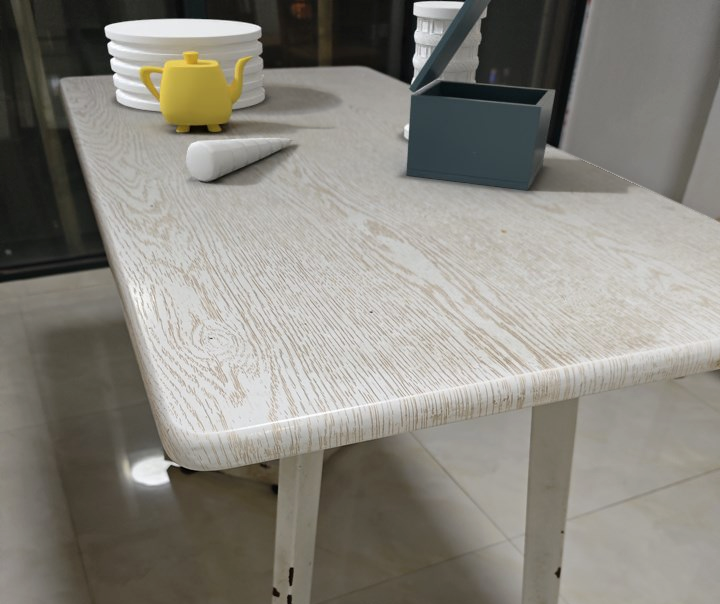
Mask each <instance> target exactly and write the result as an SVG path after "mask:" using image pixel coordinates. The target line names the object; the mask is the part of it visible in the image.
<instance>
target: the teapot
mask: <svg viewBox="0 0 720 604" xmlns="http://www.w3.org/2000/svg"><path fill="white" fill-rule="evenodd" d="M183 56H184V58H185V60H170V61H167V62H166V63H165V65H164V68H160V67H154V66H144V67H141V68H140V69H139V75H140V78H141V80H142V82H143V83H144V85H145V86H146V88H147V89H148V90H149V91H150V92H151V93H152V94H153V96H154V97H155V98H156V99H157V100H158V101H159V102H160V109H161V112H160V113H161V114H162V117H163V118H164V119H165V122H167V124H169V125H174V126H175V125H177V127H176V130H175V131H176V132H177V133H188V132H190V130H191V129H190V128H191V126H206V127H207V130H208V132H212V133H214V132H215V133H216V132H217V133H218V132H221V131H222V128H221V126H220V125H222V124H227V123H228V122H229V121H230V118H231V116H232V113H233V110H232V105H233V104H234V103H235V102H237V101H238V99H239V98H240V96H241V93H242V86H243V70H244V67H245V65H246V63H247V62H248V61H249V60H250V59H251V58H252V57H253V56H249V57H245V58H241V59H239V60H238V62H237V63H236V67H235V76H234V80H233V82H232V84H231V85H229V86H228V84H227V82H226V79H225V77H224V74H223V72H222V70H221V67H220V65H219V63H218V62H217V61H214V60H198V56H199V53H198V52H192V51H189V52H184V53H183ZM151 73H161V74H162V78H161V83H160V94H159V93H158V91H157V90H156V88H155V87H154V85H153V83H152V81H151V79H150V74H151Z"/></svg>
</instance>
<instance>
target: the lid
mask: <svg viewBox="0 0 720 604" xmlns="http://www.w3.org/2000/svg"><path fill="white" fill-rule="evenodd" d="M491 1H492V0H465V1H463V2H464V4H463V6H462V7H461V9H460V10H459V12H458V13H457V15H456V16H455V18H454V20H453V21H452V23H451V24H450V26H449V27H448V29H447V30H446V32H445V34H444V35H443V37H442V38H441V40H440V41H439V43H438V44H437V46H436V47H435V49H434V51H433V52H432V54H431V55H430V57H429V58H428V60H427V61H426V63H425V65H424V66H423V68H422V69H421V71H420V72H419V74H418V75H417V77H416V79H415V80H414V82H413V83H412V82H411V83H412V85H411V84H410V87H409V88H408V89H409V91H410V92H412V94H413V93H414V92H416V91H418V90H419V89H421V88H423V87H424V86H426V85H428V84H429V83H431V82H433V81H434V80H436V79H438V78H439V77H440V76H441V74H442V73H443V71H444V70H445V68H446V67H447V65H448V64H449V62H450V61H451V59H452V58H453V56H454V55H455V53H456V52H457V50H458V49H459V47H460V46H461V44H462V43H463V41H464V40H465V38H466V37H467V35H468V34H469V32H470V31H471V29H472V28H473V26H474V25H475V23H476V22H477V20H478V19H479V17H480V16H481V14H482V13H483V11H484V10H485V8H486V7H487V8H488V5H489V4H490V2H491Z"/></svg>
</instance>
